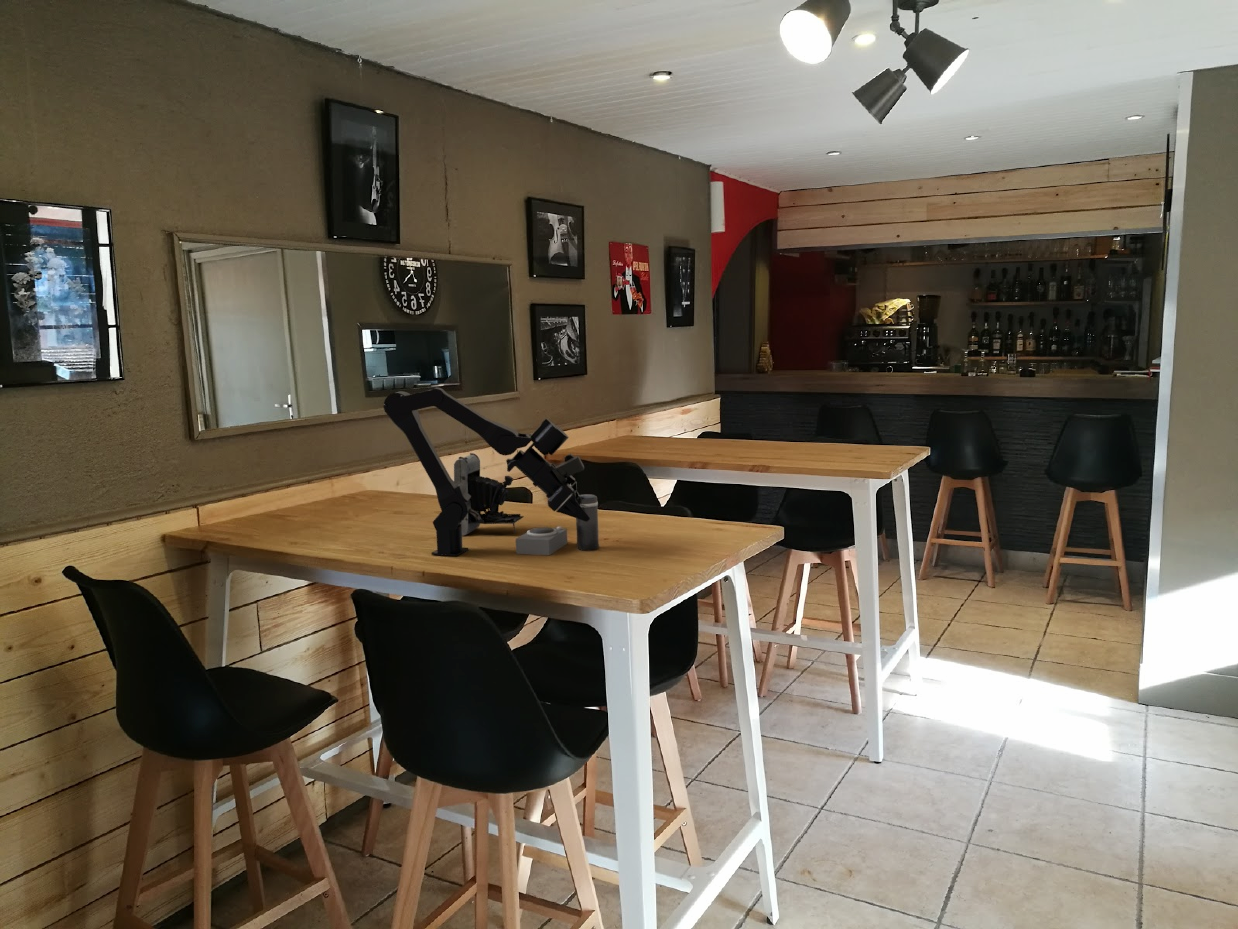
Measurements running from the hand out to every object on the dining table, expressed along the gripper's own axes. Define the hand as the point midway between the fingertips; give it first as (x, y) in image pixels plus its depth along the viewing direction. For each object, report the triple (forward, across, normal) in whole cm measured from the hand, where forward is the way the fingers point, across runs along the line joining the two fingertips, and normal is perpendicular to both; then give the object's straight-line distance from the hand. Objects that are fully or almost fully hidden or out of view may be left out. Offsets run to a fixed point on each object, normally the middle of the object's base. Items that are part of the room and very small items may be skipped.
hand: (588, 516), depth 204 cm
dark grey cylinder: (+5, 0, +6) cm, 8 cm away
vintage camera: (-12, +21, +23) cm, 34 cm away
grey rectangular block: (-2, +1, +13) cm, 13 cm away
